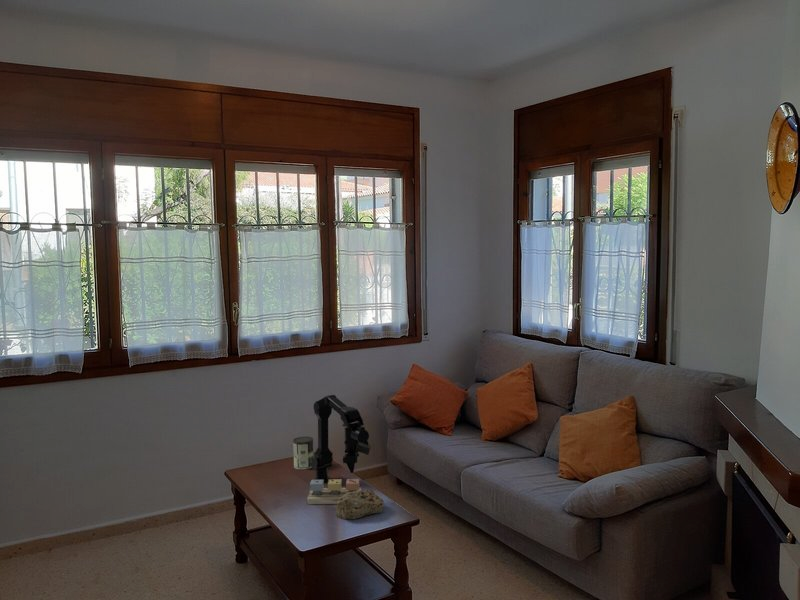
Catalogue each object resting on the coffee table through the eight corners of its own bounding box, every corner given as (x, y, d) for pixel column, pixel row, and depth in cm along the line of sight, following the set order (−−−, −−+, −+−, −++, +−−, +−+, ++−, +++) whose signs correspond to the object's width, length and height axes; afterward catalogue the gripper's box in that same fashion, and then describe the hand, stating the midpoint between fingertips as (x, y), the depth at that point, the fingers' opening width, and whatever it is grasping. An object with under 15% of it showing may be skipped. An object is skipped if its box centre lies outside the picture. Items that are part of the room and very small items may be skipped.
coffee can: (309, 461, 341) (308, 435, 339) (317, 467, 332) (316, 440, 331) (290, 465, 335) (289, 438, 334) (298, 471, 326) (297, 443, 325)
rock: (369, 503, 287) (374, 482, 285) (386, 521, 275) (391, 500, 273) (328, 509, 275) (332, 488, 273) (343, 529, 264) (348, 507, 262)
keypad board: (311, 493, 296) (311, 488, 296) (361, 492, 296) (361, 487, 296) (307, 504, 285) (307, 498, 284) (359, 503, 284) (359, 497, 284)
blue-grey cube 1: (311, 492, 293) (311, 479, 293) (324, 491, 293) (323, 479, 292) (310, 496, 288) (309, 483, 287) (322, 496, 287) (322, 483, 287)
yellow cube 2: (329, 491, 293) (329, 479, 292) (341, 491, 293) (341, 478, 292) (328, 496, 287) (327, 483, 287) (340, 496, 287) (340, 483, 287)
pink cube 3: (347, 491, 293) (347, 478, 292) (359, 491, 293) (359, 478, 292) (346, 496, 287) (345, 483, 287) (358, 496, 287) (358, 483, 287)
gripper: (368, 443, 278) (369, 479, 280) (370, 431, 297) (371, 464, 298) (342, 444, 279) (343, 479, 280) (346, 431, 297) (347, 465, 298)
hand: (352, 472), depth 289 cm, fingers closed
